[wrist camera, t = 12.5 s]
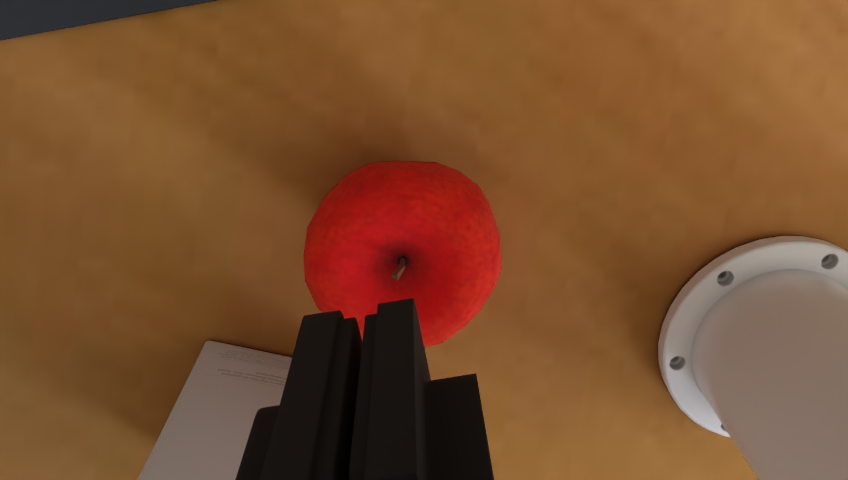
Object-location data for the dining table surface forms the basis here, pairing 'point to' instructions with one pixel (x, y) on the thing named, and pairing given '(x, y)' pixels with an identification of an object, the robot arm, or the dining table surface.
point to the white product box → (216, 413)
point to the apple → (404, 245)
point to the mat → (72, 13)
